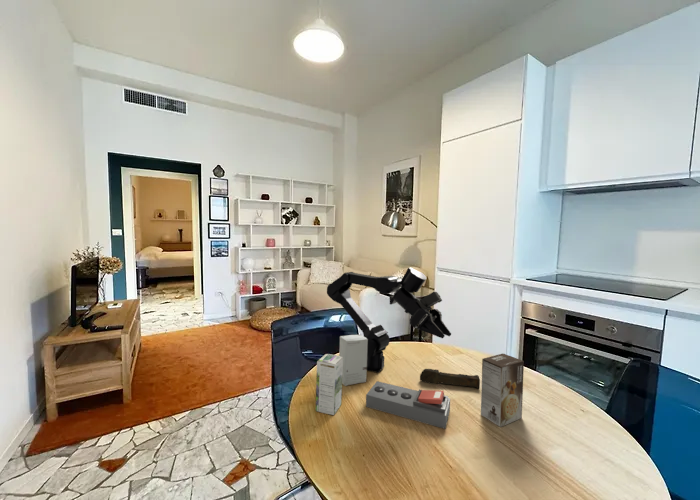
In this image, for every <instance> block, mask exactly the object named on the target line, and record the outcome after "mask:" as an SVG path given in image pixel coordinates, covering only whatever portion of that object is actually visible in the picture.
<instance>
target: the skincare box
mask: <svg viewBox="0 0 700 500" xmlns="http://www.w3.org/2000/svg"><path fill="white" fill-rule="evenodd" d="M367 345H368V339H367V338H365V337H364V335H363V334H349V335H340V336H339V351H338V352H339V353H338V356H340V357H343V372H342V386H345V387H347V386H350V385H355V384H360V383H366V382H367V373H368V372H367V371H368V370H367Z"/></svg>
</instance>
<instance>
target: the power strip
mask: <svg viewBox="0 0 700 500" xmlns="http://www.w3.org/2000/svg"><path fill="white" fill-rule="evenodd" d="M422 390H423V389H418V390H416V389H412V388H408V387H403V386H400V385H396V384H391V383H386V382H382V381H379V380H378V381H376V382H375V383H374V384H373V386H372V387H371V388H370V389H369V390H368V392H367V393H366V394H365V407H366V408H369V409H373V410H377V411H380V412H383V413H388V414H391V415H395V416H398V417H402V418H404V419H408V420H412V421H415V422H420V423H423V424H425V425H426V424H427V425H430V426H433V427H437V428H440V429H444V430H445V429H446V428H447V424H448V419H449V415H450V412H451V398H449V396H448V395H446V394H444V397H443V401H442V404H429V403H422V402H419V400H418V398H419V396H420V393H421V391H422Z"/></svg>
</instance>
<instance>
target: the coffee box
mask: <svg viewBox="0 0 700 500" xmlns="http://www.w3.org/2000/svg"><path fill="white" fill-rule="evenodd" d="M481 359H482V360H481V362H482V363H481V366H482V367H481V392H480V393H481V394H480V395H481V396H480V397H481V398H480V415H481V416H482V417H483V418H486V419H487V420H489V421H490V422H492V423H493V424H495V425H496V426H498V427H500V428H501V427H504V426H506V425H509V424H511V423H513V422H516V421H518V420H520V419H523V393H524V369H525V368H524V364H525V361H524V360H522V359H519V358H517V357H513V356H511V355H508V354H507V353H506V354H505V353H500V354H496V355H491V356H487V357H484V358H481Z"/></svg>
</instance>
